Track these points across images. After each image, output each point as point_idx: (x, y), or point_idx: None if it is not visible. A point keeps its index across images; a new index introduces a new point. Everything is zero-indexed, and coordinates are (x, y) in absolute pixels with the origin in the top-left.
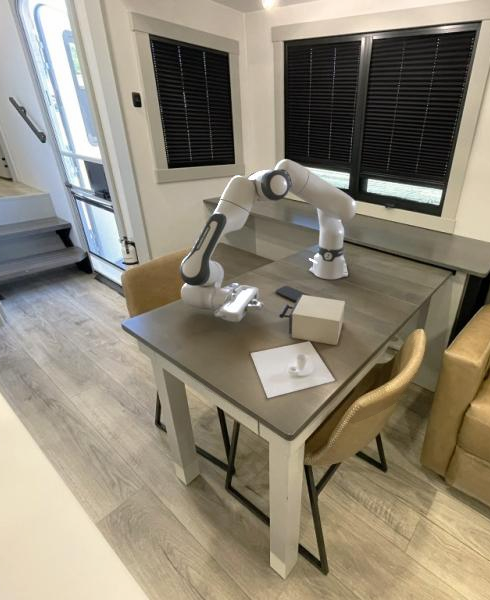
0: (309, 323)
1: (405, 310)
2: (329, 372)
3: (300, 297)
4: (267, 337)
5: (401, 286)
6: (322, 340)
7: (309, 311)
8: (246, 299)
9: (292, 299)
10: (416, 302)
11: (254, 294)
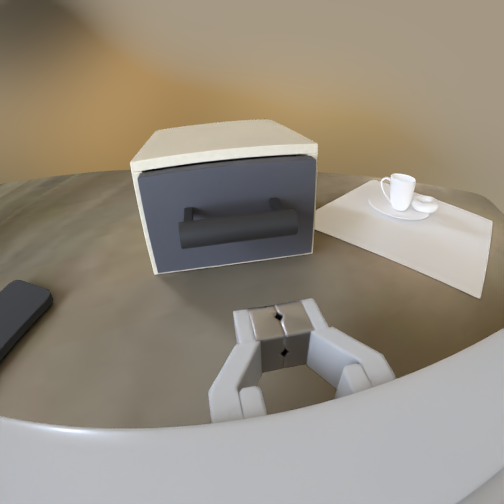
0: None
1: (95, 174)
2: (363, 185)
3: (139, 174)
4: (377, 308)
5: (14, 196)
6: None
7: (264, 133)
8: (330, 440)
9: (19, 333)
10: (70, 175)
11: (113, 428)
